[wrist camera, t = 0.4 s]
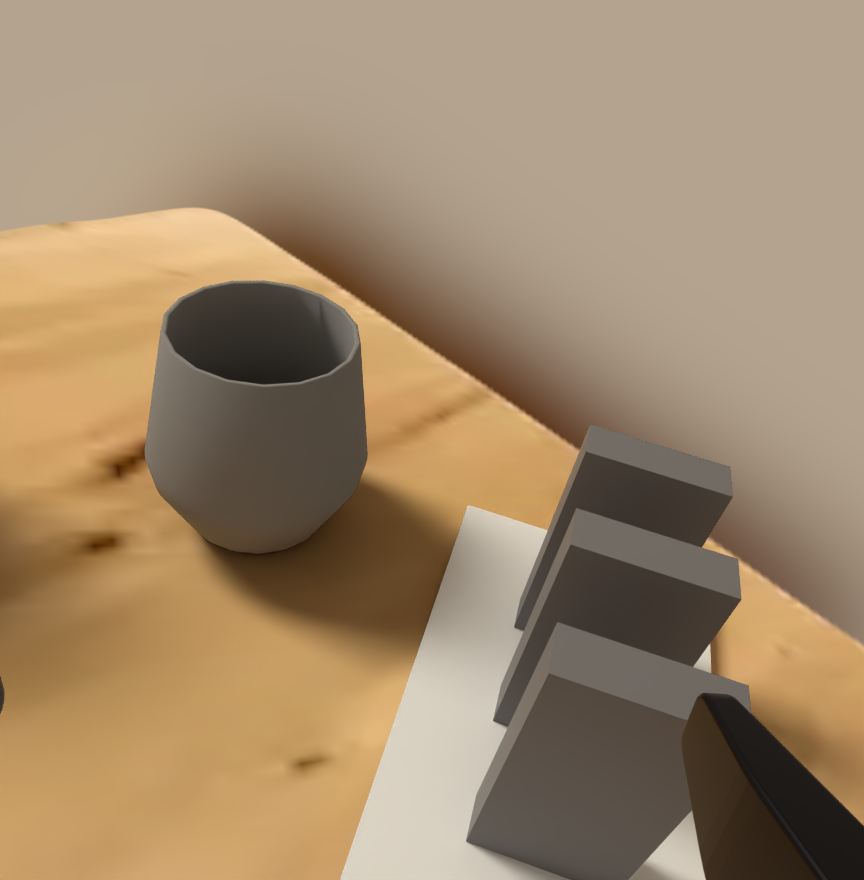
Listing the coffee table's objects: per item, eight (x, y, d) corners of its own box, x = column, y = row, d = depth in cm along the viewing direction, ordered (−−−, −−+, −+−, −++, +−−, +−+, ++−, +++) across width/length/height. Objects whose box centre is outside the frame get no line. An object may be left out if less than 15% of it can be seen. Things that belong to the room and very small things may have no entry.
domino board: (722, 1357, 17) (737, 1358, 17) (246, 1156, 18) (247, 1151, 18) (700, 592, 36) (707, 581, 35) (464, 515, 37) (468, 504, 36)
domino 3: (613, 895, 24) (753, 742, 17) (465, 841, 24) (548, 673, 18) (617, 845, 25) (748, 685, 19) (476, 795, 25) (557, 622, 19)
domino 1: (629, 666, 31) (732, 496, 24) (513, 627, 31) (585, 451, 25) (630, 635, 32) (730, 467, 25) (519, 598, 32) (590, 424, 26)
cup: (106, 535, 32) (74, 344, 26) (224, 420, 39) (223, 248, 33) (300, 619, 30) (318, 437, 24) (387, 483, 38) (418, 315, 31)
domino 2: (622, 766, 27) (741, 599, 21) (492, 721, 28) (570, 544, 21) (624, 727, 28) (737, 559, 22) (500, 685, 29) (576, 508, 22)
